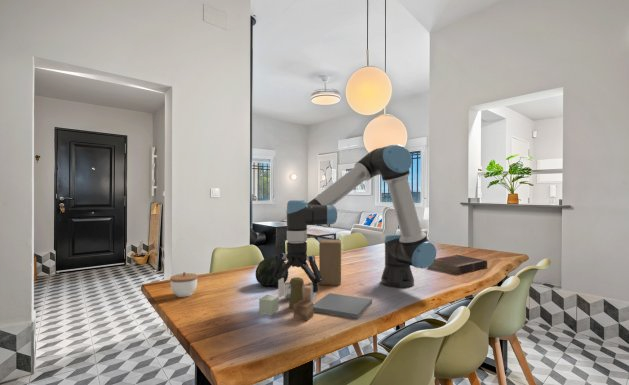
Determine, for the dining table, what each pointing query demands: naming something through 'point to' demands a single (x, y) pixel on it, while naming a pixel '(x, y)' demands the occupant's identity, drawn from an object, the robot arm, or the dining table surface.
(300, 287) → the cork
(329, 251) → the wooden block
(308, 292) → the peach rounded capsule
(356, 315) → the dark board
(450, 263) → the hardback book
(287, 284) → the metal tin
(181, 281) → the lidded jar
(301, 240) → the robot arm
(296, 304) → the walnut block
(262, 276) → the squash
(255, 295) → the dining table surface
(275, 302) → the sage block
